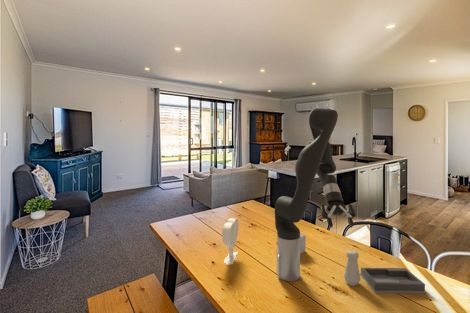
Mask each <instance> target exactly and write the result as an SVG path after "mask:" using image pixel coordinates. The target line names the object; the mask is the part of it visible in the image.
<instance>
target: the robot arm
mask: <svg viewBox="0 0 470 313" xmlns="http://www.w3.org/2000/svg"><path fill="white" fill-rule="evenodd" d="M338 115H339V114H338V112H337V110H336V109H329V108H320V107H318V108H317V107H315V108H313V109H312V110H311V111H310V113H309V116H308V123H309V124H308V125H309V129H310V131H311V135H312V138H313V140H312V141H311V142H310V143H309V144H307V145H306V146H305V147H304V148H302V150H301V151H300V153H299V154H298V158H297V161H296V163H295V166H294V171H295V177H296V178H295V179H296V188H295V191H294V192H295V193H294V195H293V197H290V196H287V195H282V196H280V197H278V198H277V200H276V201H275V205H274V224H275V225H274V226H275V229H276V233H277V237H276V238H277V241H276V242H277V248H276V273H277V279H278V280H283V281H286V282H295V281H298V280H299V279H300V278H301V277H300V276H301V254H300V234H301V230H300V228H299V227H298V226H297V225H296V224H297V223H299V222H300V221H301V220H303V217H304V215H305V213H306V211H307V210H306V209H307V207H308V206H307V205H308V200H309V197H310V193H311V191H312V188H313V184H314V180H315V178H316V176H318V178H319V180H320V182H321V185H322V188H323V189H322V190H323V191H322V192H323V196H324V199H325V202H326V203H325V204H326V205H325V204H321V206H320V213H321V218H322V219H324V220H325V219H326V222H327V225H328V227H329V228H330V229H331V228H333V226H334V224H333V219H332V218H331V217H332V215H333V216H343V218H346V219H347V223H348V226H349V228H350V229H351V228H353V227H354V221H353V220H354V219H355V217H356V212H355V210H354V207H353V204H351V203H350V204H348V205H345V202H344V199H343V195H342V192H341V189H340V187H339V185H338V181H337V178H336V176H335V175H333V174H334V173H335V172H336V171H337V165H336V163H335V162H334V161H335V160H334V159H333V154H332V152H333V151H332V145H331V142H330V141H329V140H330V138H331V136H332V133H333V131H334V130H335V127H336V125H337V122H338ZM346 209H347V210H346ZM326 210H327V211H329V212H328V214H326V213H327V212H326Z"/></svg>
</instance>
